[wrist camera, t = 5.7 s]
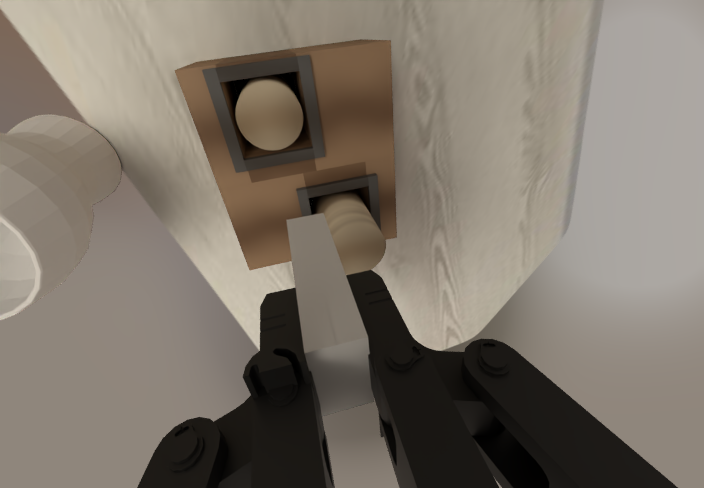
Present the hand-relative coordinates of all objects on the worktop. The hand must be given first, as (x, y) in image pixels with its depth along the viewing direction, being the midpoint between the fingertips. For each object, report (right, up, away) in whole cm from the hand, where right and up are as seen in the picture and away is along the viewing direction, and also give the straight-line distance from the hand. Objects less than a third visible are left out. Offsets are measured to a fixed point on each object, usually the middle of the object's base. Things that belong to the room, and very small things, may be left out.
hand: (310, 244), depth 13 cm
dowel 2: (0, +4, +17) cm, 17 cm away
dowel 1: (-6, +13, +15) cm, 21 cm away
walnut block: (-3, +10, +18) cm, 21 cm away
